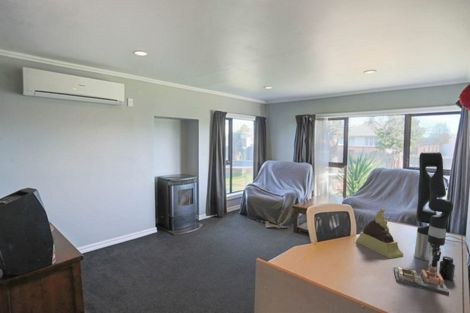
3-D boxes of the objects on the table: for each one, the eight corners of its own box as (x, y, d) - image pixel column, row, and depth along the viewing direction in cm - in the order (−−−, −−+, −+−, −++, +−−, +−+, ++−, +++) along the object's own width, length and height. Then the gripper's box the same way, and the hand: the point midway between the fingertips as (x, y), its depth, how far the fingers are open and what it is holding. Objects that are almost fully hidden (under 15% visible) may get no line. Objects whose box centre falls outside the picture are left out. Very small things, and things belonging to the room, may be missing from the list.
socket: (421, 274, 152) (421, 269, 151) (438, 278, 148) (439, 273, 148) (424, 281, 144) (424, 276, 144) (443, 285, 140) (443, 280, 140)
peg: (427, 268, 148) (429, 251, 147) (435, 270, 147) (438, 253, 146) (428, 271, 145) (430, 254, 144) (437, 274, 143) (439, 256, 142)
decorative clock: (403, 256, 179) (407, 213, 176) (389, 258, 174) (394, 214, 171) (368, 240, 205) (372, 202, 202) (355, 241, 200) (359, 203, 197)
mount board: (393, 269, 159) (394, 262, 159) (440, 280, 149) (441, 272, 149) (396, 281, 145) (397, 274, 144) (448, 295, 135) (450, 286, 134)
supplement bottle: (446, 275, 156) (449, 255, 155) (456, 281, 149) (459, 261, 148) (435, 274, 155) (437, 255, 154) (444, 281, 149) (447, 260, 148)
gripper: (425, 229, 152) (422, 258, 153) (431, 237, 139) (427, 268, 141) (441, 232, 149) (438, 261, 150) (449, 240, 136) (445, 272, 137)
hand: (433, 264), depth 145 cm, fingers closed on peg, 4 cm apart
